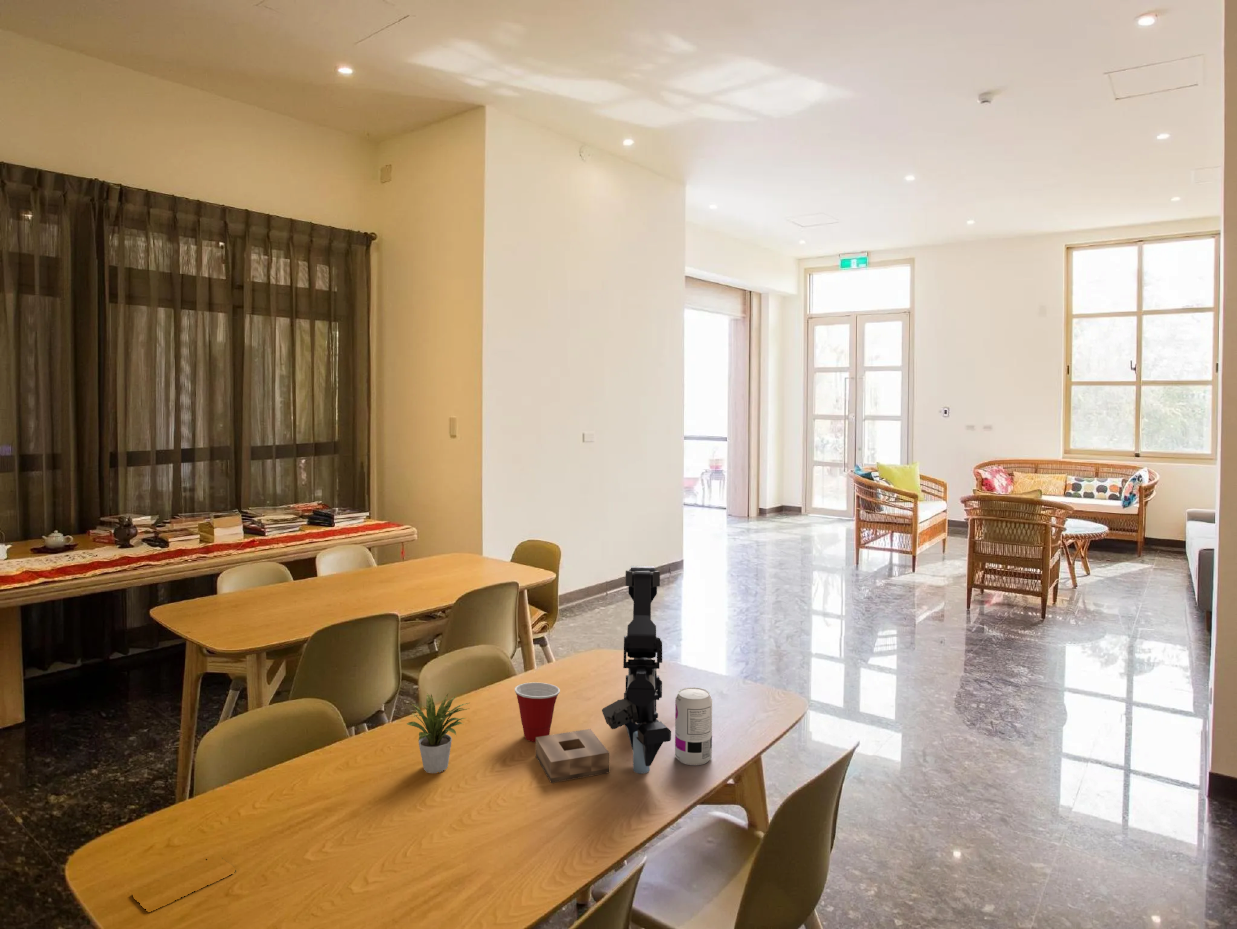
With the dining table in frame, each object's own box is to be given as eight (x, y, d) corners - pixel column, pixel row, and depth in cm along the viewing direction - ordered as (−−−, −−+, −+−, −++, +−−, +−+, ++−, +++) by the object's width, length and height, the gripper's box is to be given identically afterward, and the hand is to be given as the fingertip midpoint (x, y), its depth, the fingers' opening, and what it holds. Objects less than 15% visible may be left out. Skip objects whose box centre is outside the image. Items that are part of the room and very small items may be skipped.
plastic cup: (569, 738, 185) (569, 689, 184) (530, 750, 178) (530, 699, 177) (544, 723, 193) (543, 676, 192) (506, 735, 186) (505, 686, 185)
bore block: (590, 747, 180) (590, 728, 179) (609, 772, 167) (609, 752, 167) (535, 756, 175) (535, 737, 175) (551, 782, 163) (551, 762, 163)
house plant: (452, 789, 160) (450, 712, 159) (390, 782, 163) (388, 707, 162) (478, 758, 174) (477, 687, 173) (420, 752, 177) (419, 683, 175)
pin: (645, 764, 171) (645, 729, 171) (652, 771, 168) (652, 736, 167) (630, 767, 170) (630, 731, 169) (636, 774, 167) (636, 738, 166)
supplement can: (669, 761, 173) (669, 696, 171) (683, 747, 180) (684, 684, 179) (703, 769, 169) (704, 702, 168) (716, 754, 176) (717, 690, 175)
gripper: (592, 678, 173) (592, 745, 175) (621, 709, 156) (621, 784, 157) (638, 672, 177) (638, 738, 179) (672, 701, 160) (671, 774, 161)
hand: (641, 758), depth 169 cm, fingers open, 7 cm apart
